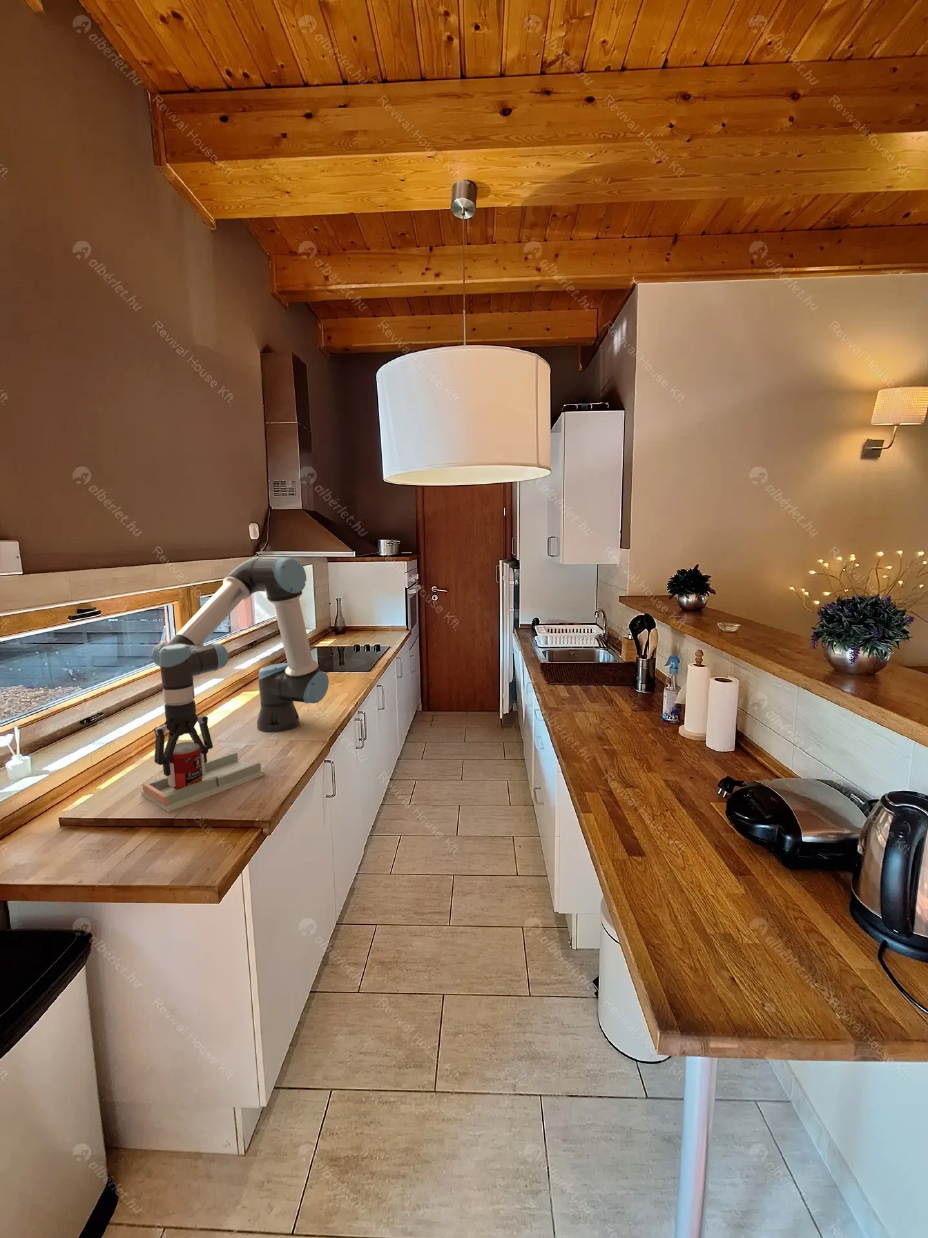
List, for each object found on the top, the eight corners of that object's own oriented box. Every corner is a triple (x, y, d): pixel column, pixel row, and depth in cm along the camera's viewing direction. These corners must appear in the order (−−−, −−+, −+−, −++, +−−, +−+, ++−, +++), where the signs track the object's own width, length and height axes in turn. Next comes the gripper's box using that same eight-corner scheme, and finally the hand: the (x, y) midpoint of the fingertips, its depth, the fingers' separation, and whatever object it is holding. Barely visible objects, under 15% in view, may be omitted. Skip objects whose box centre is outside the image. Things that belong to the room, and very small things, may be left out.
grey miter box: (236, 761, 174) (235, 750, 174) (264, 774, 165) (263, 763, 164) (141, 795, 153) (140, 782, 152) (168, 812, 143) (166, 799, 142)
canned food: (190, 791, 150) (187, 753, 148) (165, 789, 152) (161, 751, 150) (208, 779, 157) (205, 742, 156) (184, 777, 159) (180, 740, 157)
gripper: (209, 690, 161) (215, 764, 164) (133, 708, 145) (142, 789, 149) (222, 694, 156) (228, 770, 160) (145, 714, 140) (154, 797, 144)
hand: (187, 780), depth 154 cm, fingers closed on canned food, 8 cm apart
